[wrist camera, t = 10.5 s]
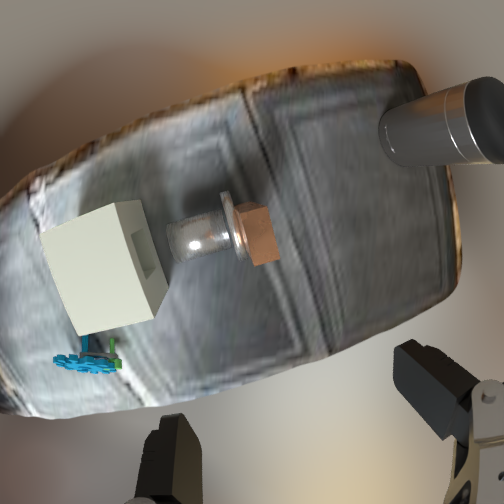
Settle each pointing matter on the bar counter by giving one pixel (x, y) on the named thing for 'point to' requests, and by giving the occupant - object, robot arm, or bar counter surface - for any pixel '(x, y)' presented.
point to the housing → (106, 267)
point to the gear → (90, 360)
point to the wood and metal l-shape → (225, 233)
